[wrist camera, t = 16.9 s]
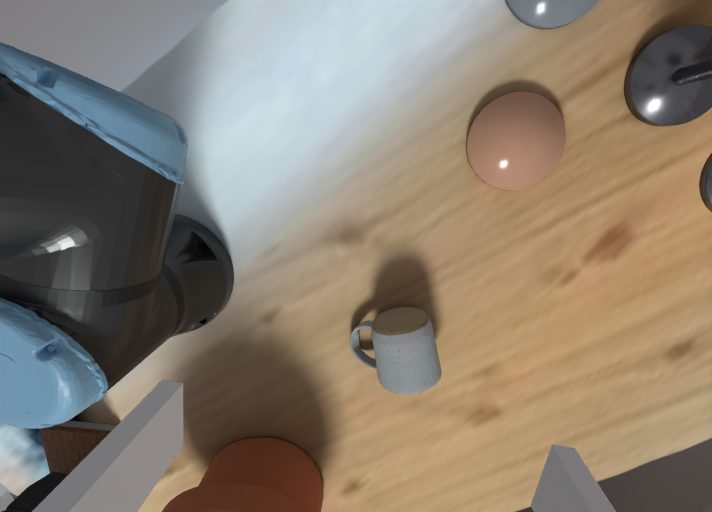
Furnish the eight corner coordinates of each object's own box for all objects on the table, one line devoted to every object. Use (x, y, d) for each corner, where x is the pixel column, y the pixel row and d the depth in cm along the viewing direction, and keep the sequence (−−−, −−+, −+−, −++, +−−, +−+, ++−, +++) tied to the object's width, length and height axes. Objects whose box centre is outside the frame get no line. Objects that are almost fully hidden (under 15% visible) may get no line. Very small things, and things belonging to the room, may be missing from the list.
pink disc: (457, 182, 41) (459, 183, 40) (477, 87, 38) (479, 85, 37) (546, 194, 40) (550, 195, 39) (572, 99, 37) (577, 98, 36)
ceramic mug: (426, 298, 45) (433, 326, 37) (437, 355, 47) (446, 393, 39) (345, 312, 46) (336, 341, 39) (358, 367, 48) (352, 405, 41)
